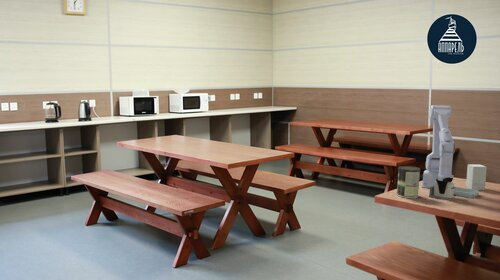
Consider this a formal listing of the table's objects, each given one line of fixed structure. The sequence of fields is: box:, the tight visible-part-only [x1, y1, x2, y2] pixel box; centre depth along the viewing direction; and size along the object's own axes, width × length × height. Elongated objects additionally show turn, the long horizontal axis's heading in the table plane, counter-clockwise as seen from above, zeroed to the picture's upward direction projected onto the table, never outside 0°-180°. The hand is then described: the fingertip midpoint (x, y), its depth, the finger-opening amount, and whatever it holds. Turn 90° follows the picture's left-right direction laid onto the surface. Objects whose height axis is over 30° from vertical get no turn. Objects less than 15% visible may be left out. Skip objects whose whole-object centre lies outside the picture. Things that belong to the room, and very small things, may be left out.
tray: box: [454, 186, 480, 199], centre depth 250 cm, size 13×10×2 cm
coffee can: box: [396, 165, 421, 199], centre depth 244 cm, size 10×10×14 cm
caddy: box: [434, 181, 457, 199], centre depth 244 cm, size 9×5×7 cm, turn 51°
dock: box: [428, 185, 457, 201], centre depth 244 cm, size 10×11×5 cm
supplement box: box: [465, 163, 488, 191], centre depth 263 cm, size 7×7×13 cm
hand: (443, 192), depth 244 cm, fingers closed on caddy, 5 cm apart
